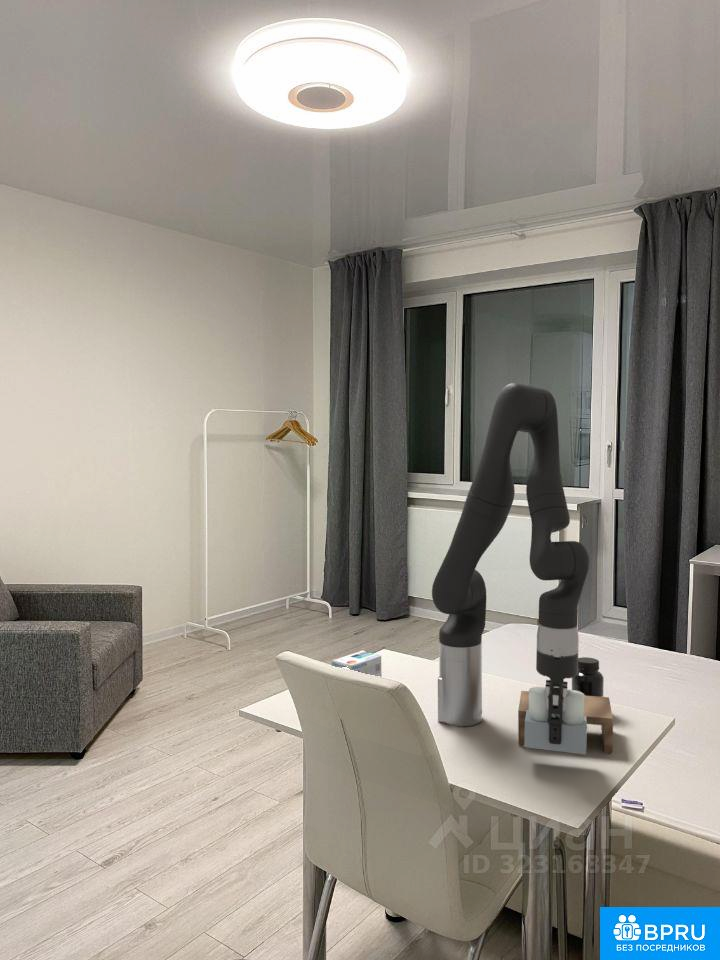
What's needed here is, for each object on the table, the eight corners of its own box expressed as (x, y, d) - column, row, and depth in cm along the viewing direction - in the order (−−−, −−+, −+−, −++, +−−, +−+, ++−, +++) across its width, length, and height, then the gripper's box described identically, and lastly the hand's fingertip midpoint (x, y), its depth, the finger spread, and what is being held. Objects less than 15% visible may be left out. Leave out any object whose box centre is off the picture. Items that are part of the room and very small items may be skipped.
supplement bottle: (605, 719, 160) (605, 665, 160) (572, 717, 162) (572, 664, 161) (601, 708, 167) (601, 656, 166) (570, 706, 168) (570, 654, 168)
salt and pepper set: (524, 747, 137) (525, 694, 136) (526, 735, 142) (527, 684, 141) (586, 754, 134) (587, 700, 133) (585, 742, 139) (586, 690, 138)
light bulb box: (362, 692, 179) (362, 649, 179) (383, 699, 175) (382, 654, 174) (331, 704, 172) (330, 659, 171) (351, 711, 167) (351, 665, 166)
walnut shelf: (518, 744, 148) (518, 710, 147) (521, 722, 159) (521, 690, 159) (612, 753, 143) (612, 718, 143) (608, 729, 155) (608, 697, 154)
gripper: (538, 636, 144) (536, 719, 146) (534, 657, 131) (532, 750, 132) (578, 639, 142) (576, 724, 144) (578, 661, 129) (576, 755, 130)
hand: (555, 736), depth 138 cm, fingers closed on salt and pepper set, 5 cm apart
